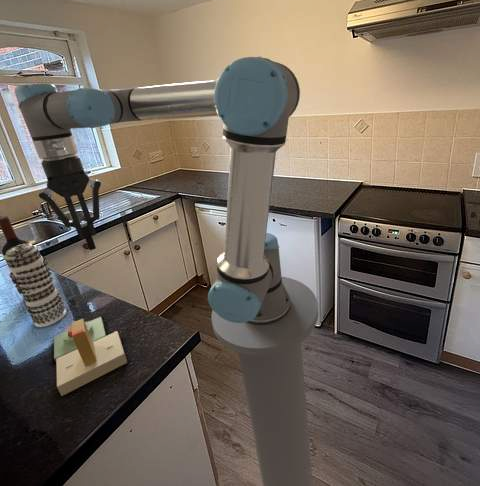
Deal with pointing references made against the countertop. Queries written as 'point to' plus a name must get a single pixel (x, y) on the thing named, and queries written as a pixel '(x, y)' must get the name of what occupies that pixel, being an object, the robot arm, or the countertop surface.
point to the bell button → (70, 331)
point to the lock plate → (78, 374)
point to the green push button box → (67, 344)
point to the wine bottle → (9, 235)
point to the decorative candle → (35, 284)
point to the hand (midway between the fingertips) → (92, 247)
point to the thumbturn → (83, 342)
